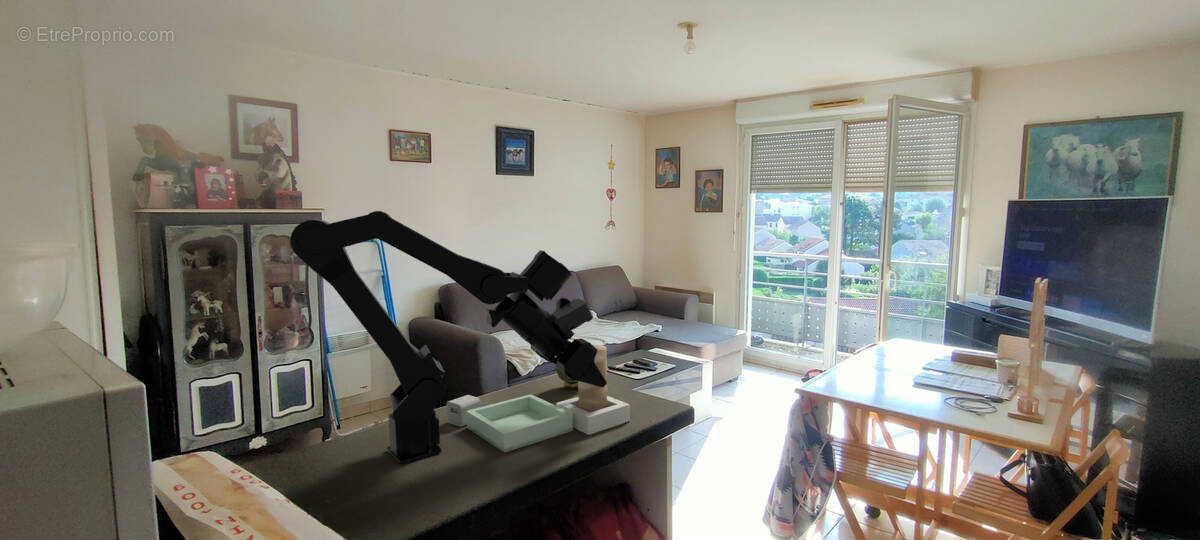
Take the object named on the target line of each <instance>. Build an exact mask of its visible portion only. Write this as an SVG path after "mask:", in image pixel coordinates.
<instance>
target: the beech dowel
mask: <svg viewBox="0 0 1200 540" xmlns="http://www.w3.org/2000/svg"><path fill="white" fill-rule="evenodd" d="M592 345H593V346H594V347H595V348H596V349H597V354H596V357H595V359H594V362H595V364H596V366H597V368H598V369H599V371H600V372H601V374H602V375H603V377H604V379H605V380H606V382H607V384H606V385H605V386H604V387H603V388H602V387H599V386H595V385H592V384H588V383H584V382H580V381H578V389H577V391H578V396H577V397H578V398H579V408H580V409H583V410H585V411H587V412H589V413H591V412H594V411H597V410H600V409H604V408H607V396H608V379H607V378H608V377H607V376H608V374H607V373H608V371H607V370H608V368H607V367H608V366H607V364H608V363H607V358H608V357H607V347H606V346H605V345H601V344H592Z"/></svg>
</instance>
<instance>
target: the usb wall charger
mask: <svg viewBox="0 0 1200 540" xmlns="http://www.w3.org/2000/svg"><path fill="white" fill-rule="evenodd" d="M487 405H489V402H487V401H486V402H484V403H482V400H481V399H480V397H478V396H473V395H470V394H466V395H463V396H460V397H458V398H455V399H452V400H448V401H447V402H446V420H447V422H448V424H450V425H454V426H457V427H459V428H461V427H464V426H467V420H466V411H468V410H472V409H476V408H480V407H484V406H487Z"/></svg>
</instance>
